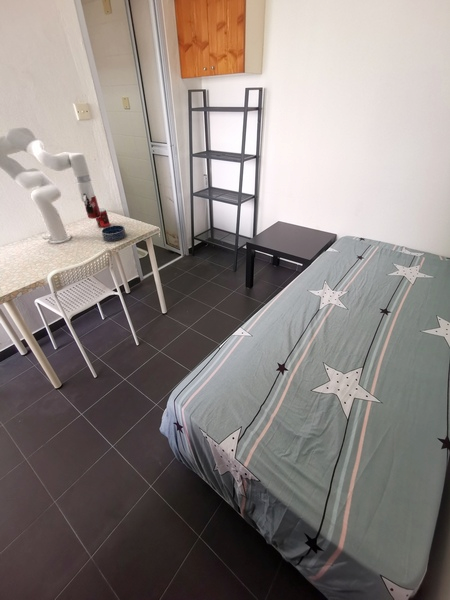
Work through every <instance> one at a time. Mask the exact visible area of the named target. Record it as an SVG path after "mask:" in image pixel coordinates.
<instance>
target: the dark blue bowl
mask: <svg viewBox="0 0 450 600" xmlns="http://www.w3.org/2000/svg"><path fill="white" fill-rule="evenodd" d="M101 235H102V239H103V240H104V241H106V242H116V241H117V242H118V241H120V240H123V239H125V237H127V233H126V228H125V226H124V225H121V224H120V225H117V224H115V225H109V226H108V227H104V228H102V229H101Z"/></svg>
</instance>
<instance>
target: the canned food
mask: <svg viewBox="0 0 450 600" xmlns="http://www.w3.org/2000/svg"><path fill="white" fill-rule="evenodd" d="M99 210H100V213H101V216H100V217H99V218H96V219H95V221H96V225H97V227H98V228H102V229H104V228H106V227H109V226H111V223H110V220H109V216H108V212H107V209H106V208H104V207H101V208H100V207H99Z"/></svg>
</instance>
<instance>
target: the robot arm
mask: <svg viewBox="0 0 450 600" xmlns="http://www.w3.org/2000/svg"><path fill="white" fill-rule="evenodd" d="M22 151H23V152H25V153H27V154H29V155H32V156H34V157H35V158H36V160H37V161H38V162H39V163H40V164H41V165H43V166H45V167H46V168H49V169H50V170H54V171H56V172H62V171H65V170H69V169H72V172H73V175H74V178H75V181H76V183H77V187H78V192H79V195H80V199H81V201H82V203H83V202H84V203H85V206H86V208H87V212H88V213H94V211H93V208H92V206H91V197H92V196H93V195H95V191H94V187H93V185H92V178H91V174H90V172H89V167H88V164H87V160H86V157H85V155H84V154H83V153H81V152H69V151H64V152H60V153H57V154H52V153H50V152H48V151H46V150H45V145H44V143H43V141H42V140H40V139H38V138H36V136H35V134H34V133H33V131H32V130H30V129H29V128H27V127H16V128H11V129H8V130H7V131H6V132H5V135H3V136H0V169H2V170H3V171H4V172H5V173H6V174H7V175H8V176H9V177H10V178H11V179H13V181H14V182H15V183H16V184H18V185H19V186H20V187H21V188H22V189H23V190H27V191H30V190H32V189H34V190H33V191H32V192H31V194H30V198H31V200H32V202H33V204H34V206H36V208H37V210H38V212H39V215H40V216H41V218H42V222H43V223H44V225H45V228H46V231H47V232H48V234H45V235H42V236H41V238H42V240H45V241H47V240H48V242H49V243H50V244H55V245H56V244H62V243H65V242H68V241H69V240H70V239H71V238H72V236H71V234H70V233H67V231H66V228H65V226H64V223H63V220H62V218H61V215H60V213H59V210H58V209H57V207H56V206H55V205H54V204H53V203H54V202H56V201H58V200H59V199H61V196H62V193H61V190H60V188H59V187H58V185H56V184H55V183H54V182H53V181H52V180H51V178H49V177H48V176H47V174H45V173H44V172H43V171H42V170H40V169H38V168H29V169H26V168H25V167H24V166H23V165H21V163H19V161H17V160H15V159H14V158H12V157H10V156H9V155H13V154H17V153H20V152H22ZM87 199H89V200H87ZM88 202H89V203H88ZM84 203H83V204H84ZM85 206H84V207H85ZM87 212H86V213H87Z"/></svg>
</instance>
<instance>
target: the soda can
mask: <svg viewBox="0 0 450 600" xmlns="http://www.w3.org/2000/svg"><path fill="white" fill-rule="evenodd" d="M87 200H89V199H87ZM82 203H83V206H84V209H85V212H86V216H87V218H88V219H90V220H96V218H99V217H100V216H101V213H100V210H99V208H100V207H99V203H98V200H97V196H96V195H95V194H94V195H93V196H92V197H91V206H92V208H93V211H94V213H88V212H87V208H86V206H85V203H84V202H83V201H82ZM88 203H89V202H88Z"/></svg>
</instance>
